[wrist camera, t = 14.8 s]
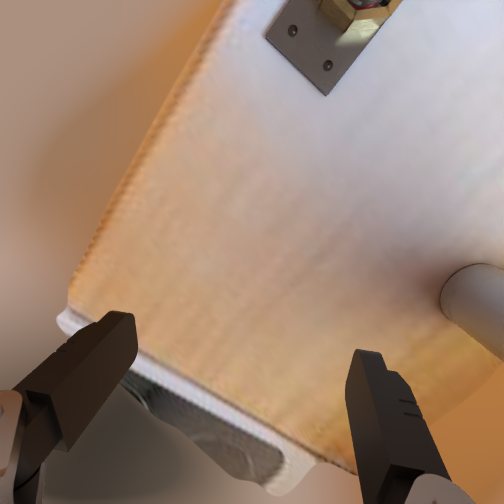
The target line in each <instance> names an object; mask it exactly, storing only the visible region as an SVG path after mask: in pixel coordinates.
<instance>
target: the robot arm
mask: <svg viewBox="0 0 504 504" xmlns="http://www.w3.org/2000/svg"><path fill="white" fill-rule="evenodd" d="M440 305H441V309H442V311H443V313H444V314H445V315H446V316H447V317H448V318H449V319H450V320H451V321H453V322H454V323H455V324H456V325H458V326H459V327H460V328H461V329H463V330H464V331H465V332H467V333H468V334H469V335H470V336H471V337H473V338H474V339H475V340H476V341H478V342H479V343H480V344H481V345H483V346H484V347H485V348H486V349H488V350H489V351H490V352H491V353H493V354H494V355H495V356H497V357H498V358H499V359H500V360H502V361H503V362H504V270H502V269H499V268H497V267H494V266H492V265H487V264H476V265H472V266H468V267H466V268H464V269H462V270H460V271H458V272H457V273H455V274H454V275H453V276H452V277H451V278H450V279H449V280H448V281H447V283H446V284H445V286H444V288H443V290H442V293H441V296H440ZM137 352H138V340H137V332H136V324H135V317H134V315H133V314H132V313H126V312H120V311H110V312H108V313H107V314H106V315H105V316H104V317H103V318H102V319H100V320H99V321H98V322H93V323H91V324H89V325H88V326H86V327H84V328H82V329H80V330H78V331H77V332H76V333H75V334H74V335H73V336H72V337H71V338H69V339H68V340H67V342H66V343H64V344H63V345H62V346H60V347H59V348H58V349H57V351H56V352H54V353H52V354H51V355H50V356H49V357H48V358H47V359H46V360H45V361H43V363H41V364H40V365H39V366H38V367H37V368H36V369H34V370H33V371H32V372H31V373H30V374H29V375H28V376H27V377H25V378H24V379H23V380H22V381H21V382H20V383H19V384H17V385H16V386H15V387H14V388H13V389H12V390H1V391H0V504H42V498H43V489H44V480H45V472H46V461H45V459H46V457H47V456H48V455H49V454H50V452H51V451H52V450H53V449H56V450H61V451H65V452H69V450H70V449H71V448H72V446H73V445H74V444H75V442H76V441H77V439H78V438H79V437H80V435H81V434H82V432H83V431H84V430H85V428H86V427H87V426H88V424H89V423H90V421H91V420H92V419H93V417H94V416H95V414H96V413H97V412H98V410H99V409H100V408H101V406H102V405H103V404H104V402H105V401H106V400H107V398H108V397H109V395H110V394H111V393H112V391H113V390H114V388H115V387H116V386H117V384H118V383H119V382H120V380H121V379H122V378H123V376H124V375H125V373H126V372H127V371H128V369H129V368H130V367H131V365H132V364H133V362H134V360H135V358H136V356H137ZM345 401H346V407H347V412H348V418H349V424H350V429H351V435H352V441H353V446H354V452H355V458H356V464H357V469H358V475H359V481H360V486H361V492H362V498H363V503H364V504H476V503H475V502H474V501H473V500H472V499H471V498H470V496H469V495H468V494H467V493H466V492H465V491H463V490H462V489H461V488H460V487H459V486H457V485H456V484H454V483H453V482H452V480H451V478H450V476H449V474H448V472H447V470H446V468H445V465H444V463H443V461H442V459H441V456H440V454H439V452H438V449H437V447H436V445H435V443H434V440H433V438H432V436H431V434H430V431H429V429H428V427H427V424H426V422H425V420H424V419H423V418H422V416H423V415H422V413H421V411H420V409H419V406H418V405H417V404H416V403H417V402H416V400H415V397H414V395H413V393H412V390H411V388H410V386H409V385H408V384H407V383H406V382H405V380H404V379H403V378H402V377H401V376H400V375H399V374H398V372H395V371H389V370H387V368H386V365H385V362H384V360H383V357H382V355H381V353H379V352H373V351H366V350H360V349H356V350H355V352H354V354H353V358H352V362H351V365H350V369H349V373H348V377H347V380H346V386H345Z"/></svg>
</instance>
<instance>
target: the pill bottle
mask: <svg viewBox="0 0 504 504" xmlns="http://www.w3.org/2000/svg"><path fill="white" fill-rule="evenodd" d="M347 1H348V3H349V4H350V5H351V6H352V7H353V8H354V9H355V10H356V11H357V10H364V9H372V8H375V7H376V6H377V5H378V4H379V3H380V2H381V1H382V0H347Z"/></svg>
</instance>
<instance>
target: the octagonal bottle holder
mask: <svg viewBox="0 0 504 504" xmlns="http://www.w3.org/2000/svg"><path fill="white" fill-rule="evenodd" d="M402 1H403V0H382V1H381V3H382V5H383V6H384V7H382V6H381V5H380V4H378V5H377V6H376V7H375V8H372V9H364V10H357V11H356V10H355V9H354V8H353V7H352V6H351V5H350V4H349V3H348V1H347V0H290V1H289V3H288V4H287V6H286V7H285V9H284V10H283V12H282V13H281V14H280V16H279V17H278V19H277V20H276V22H275V23H274V25H273V26H272V28H271V29H270V31H269V32H268V33H267V35H266V39H267V40H268V41H269V42H270V43H271V44H272V45H273V46H274V47H275V48H276V49H277V50H278V51H280V52H281V53H282V54H283V55H284V56H285V57H286V58H287V59H288V60H289V61H290V62H291V63H292V64H293V65H294V66H295V67H296V68H297V69H298V70H299V71H300V72H301V73H302V74H303V75H305V76H306V77H307V78H308V79H309V80H310V81H311V82H312V83H313V84H314V85H315V86H316V87H317V88H318V89H319V90H320V91H321V92H322V93H323V94H324V95H325V96H327V95H328V94H329V93H330V91H331V90H332V89H333V88H334V86H335V85H336V84H337V83H338V81H339V80H340V79H341V77H342V76H343V75H344V74H345V72H346V71H347V70H348V69H349V67H350V66H351V65H352V63H353V62H354V61H355V60H356V58H357V57H358V56H359V54H360V53H361V52H362V51H363V49H364V48H365V47H366V46H367V44H368V43H369V42H370V40H371V39H372V38H373V37H374V35H375V34H376V33H377V32H378V30H379V29H380V28H381V26H382V25H383V24H384V23H385V21H386V20H387V19H388V18H389V17H390V16H391V15H392V13H393V12H394V11H395V10H396V8H397V7H398V6H399V4H400V3H401V2H402Z"/></svg>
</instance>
